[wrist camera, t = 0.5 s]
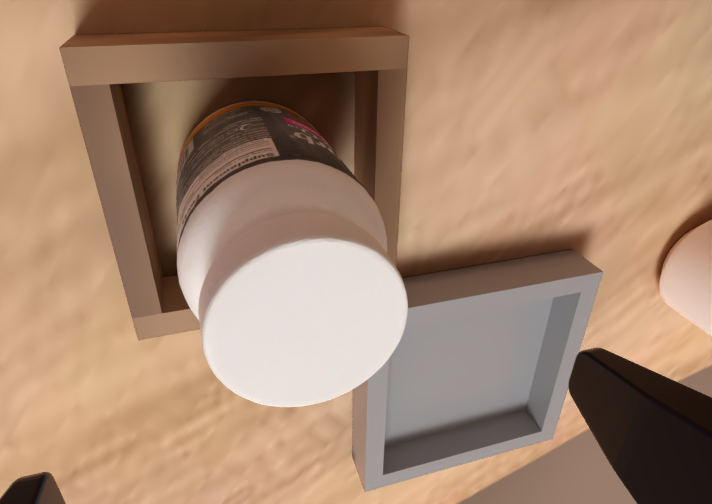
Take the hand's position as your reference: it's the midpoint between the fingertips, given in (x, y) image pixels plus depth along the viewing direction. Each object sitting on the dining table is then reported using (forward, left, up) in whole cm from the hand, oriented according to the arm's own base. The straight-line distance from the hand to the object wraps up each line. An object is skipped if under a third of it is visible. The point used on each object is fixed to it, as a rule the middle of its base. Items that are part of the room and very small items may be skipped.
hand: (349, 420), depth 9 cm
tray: (-10, +12, -13) cm, 20 cm away
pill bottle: (0, 0, -13) cm, 13 cm away
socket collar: (0, 0, -13) cm, 13 cm away
